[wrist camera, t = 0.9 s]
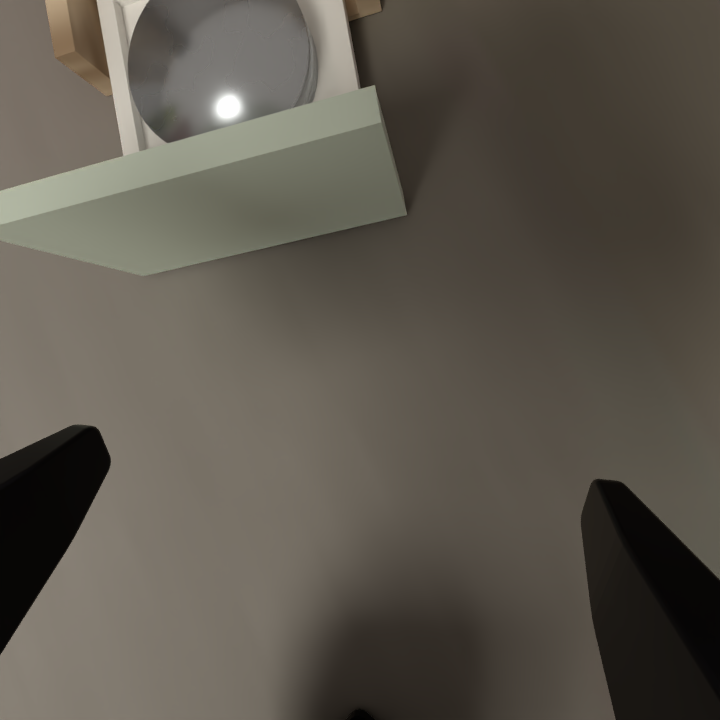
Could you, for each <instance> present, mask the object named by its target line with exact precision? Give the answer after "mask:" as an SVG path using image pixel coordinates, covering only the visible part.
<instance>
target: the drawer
mask: <svg viewBox="0 0 720 720" xmlns="http://www.w3.org/2000/svg"><path fill="white" fill-rule="evenodd" d="M148 1H149V0H97V6H98V12H99V17H100V23H101V29H102V35H103V40H104V46H105V52H106V58H107V63H108V69H109V75H110V81H111V86H112V92H113V98H114V103H115V109H116V115H117V121H118V126H119V132H120V138H121V144H122V149H123V155H124V156H122V157H118V158H115V159H111V160H108V161H104V162H100V163H97V164H93V165H90V166H86V167H83V168H79V169H76V170H72V171H69V172H65V173H62V174H58V175H55V176H51V177H47V178H44V179H40V180H37V181H33V182H30V183H26V184H23V185H19V186H16V187H12V188H9V189H5V190H2V191H0V241H4V242H8V243H12V244H16V245H20V246H24V247H28V248H32V249H36V250H40V251H44V252H48V253H52V254H56V255H60V256H64V257H68V258H72V259H76V260H80V261H84V262H88V263H93V264H97V265H101V266H105V267H109V268H113V269H117V270H121V271H125V272H129V273H133V274H137V275H141V276H147V275H151V274H155V273H160V272H164V271H168V270H172V269H177V268H181V267H185V266H190V265H194V264H198V263H203V262H207V261H211V260H216V259H220V258H224V257H229V256H233V255H237V254H242V253H246V252H250V251H255V250H259V249H263V248H267V247H272V246H276V245H280V244H285V243H289V242H293V241H298V240H302V239H306V238H311V237H315V236H319V235H324V234H328V233H332V232H337V231H341V230H345V229H349V228H354V227H358V226H362V225H367V224H371V223H375V222H380V221H384V220H388V219H393V218H397V217H401V216H406V215H407V212H406V207H405V201H404V195H403V191H402V187H401V183H400V179H399V176H398V172H397V168H396V164H395V160H394V157H393V153H392V149H391V145H390V141H389V138H388V134H387V130H386V126H385V122H384V119H383V115H382V111H381V107H380V103H379V100H378V96H377V92H376V88H375V85H373V86H369V87H365V88H362V89H361V87H360V82H359V76H358V71H357V65H356V60H355V54H354V49H353V43H352V38H351V32H350V27H349V21H348V15H347V10H346V4H345V0H296V1H297V3H298V5H299V7H300V9H301V12H302V14H303V16H304V18H305V21H306V23H307V25H308V28H309V30H310V32H311V35H312V37H313V40H314V44H315V47H316V52H317V58H318V80H317V87H316V92H315V97H314V100H313V102H312V103H309V104H305V105H302V106H298V107H295V108H291V109H288V110H284V111H281V112H277V113H274V114H270V115H267V116H263V117H259V118H256V119H252V120H249V121H245V122H242V123H238V124H235V125H231V126H228V127H224V128H221V129H217V130H214V131H210V132H206V133H203V134H199V135H196V136H192V137H189V138H185V139H182V140H178V141H175V142H171V143H166V142H165V141H163V140H162V139H161V138H159V137H158V136H157V135H156V134H155V133H154V132H153V131H152V130H151V129H150V128H149V126H148V125H147V124H146V123H145V121H144V120H143V118H142V117H141V115H140V113H139V112H138V110H137V107H136V105H135V103H134V100H133V97H132V93H131V90H130V85H129V79H128V53H129V47H130V42H131V38H132V34H133V31H134V28H135V26H136V23H137V21H138V19H139V16H140V14H141V13H142V11H143V9H144V7H145V6H146V4H147V3H148Z"/></svg>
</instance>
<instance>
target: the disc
mask: <svg viewBox="0 0 720 720" xmlns="http://www.w3.org/2000/svg"><path fill="white" fill-rule="evenodd" d="M128 79H129V85H130V90H131V93H132V97H133V100H134V103H135V105H136V107H137V110H138V112H139V113H140V115H141V117H142V118H143V120H144V121H145V123H146V124H147V125H148V126H149V128H150V129H151V130H152V131H153V132H154V133H155V134H156V135H157V136H158V137H159V138H161V139H162V140H163V141H165V142H166V143H171V142H175V141H178V140H182V139H185V138H189V137H192V136H196V135H199V134H203V133H206V132H210V131H214V130H217V129H221V128H224V127H228V126H231V125H235V124H238V123H242V122H245V121H249V120H252V119H256V118H259V117H263V116H267V115H270V114H274V113H277V112H281V111H284V110H288V109H291V108H295V107H298V106H302V105H305V104H309V103H312V102H313V100H314V97H315V92H316V87H317V80H318V58H317V52H316V47H315V44H314V40H313V37H312V35H311V32H310V30H309V28H308V25H307V23H306V21H305V18H304V16H303V14H302V12H301V9H300V7H299V5H298V3H297V1H296V0H149V1H148V3H147V4H146V6H145V7H144V9H143V11H142V13H141V14H140V16H139V19H138V21H137V23H136V26H135V28H134V31H133V34H132V38H131V42H130V47H129V53H128Z"/></svg>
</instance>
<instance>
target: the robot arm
mask: <svg viewBox="0 0 720 720" xmlns="http://www.w3.org/2000/svg"><path fill="white" fill-rule="evenodd" d="M110 464H111V458H110V455H109V452H108V450H107V448H106V445H105V443H104V440H103V438H102V436H101V433H100V431H99V430H98V429H97V428H96V427H94V426H88V425H72V426H69V427H67V428H65V429H63V430H61V431H59V432H57V433H55V434H52V435H50V436H48V437H46V438H44V439H42V440H40V441H37V442H35V443H33V444H31V445H29V446H27V447H25V448H23V449H20V450H18V451H16V452H14V453H12V454H10V455H8V456H6V457H3V458H1V459H0V655H1V653H2V651H3V650H4V648H5V647H6V645H7V644H8V642H9V640H10V639H11V637H12V636H13V634H14V633H15V631H16V629H17V628H18V626H19V625H20V623H21V621H22V620H23V618H24V617H25V615H26V614H27V612H28V610H29V609H30V607H31V606H32V604H33V603H34V601H35V599H36V598H37V596H38V595H39V593H40V592H41V590H42V588H43V587H44V585H45V584H46V582H47V580H48V579H49V577H50V576H51V574H52V573H53V571H54V569H55V568H56V566H57V565H58V563H59V562H60V560H61V558H62V557H63V555H64V554H65V552H66V550H67V549H68V547H69V545H70V544H71V542H72V540H73V539H74V537H75V535H76V533H77V531H78V529H79V527H80V525H81V524H82V522H83V520H84V518H85V516H86V514H87V512H88V510H89V508H90V506H91V504H92V502H93V500H94V498H95V496H96V494H97V492H98V490H99V488H100V486H101V484H102V482H103V480H104V479H105V477H106V475H107V473H108V471H109V468H110ZM581 530H582V538H583V547H584V555H585V564H586V572H587V580H588V589H589V597H590V605H591V612H592V619H593V624H594V629H595V634H596V638H597V642H598V647H599V651H600V655H601V659H602V664H603V668H604V672H605V676H606V681H607V685H608V689H609V693H610V697H611V702H612V706H613V710H614V714H615V719H616V720H720V580H719V579H718V578H717V577H716V576H715V575H714V574H713V573H712V572H711V571H710V569H709V568H708V567H707V566H706V565H705V564H704V563H703V562H702V561H701V560H700V559H699V558H698V557H697V556H696V555H695V554H694V553H693V552H692V551H691V550H690V549H689V548H688V547H687V546H686V545H685V544H684V543H683V542H682V541H681V540H680V539H679V538H678V537H677V536H676V535H675V534H674V533H673V532H672V531H671V530H670V529H669V528H668V527H667V526H666V525H665V524H664V523H663V522H662V521H661V520H660V519H659V518H658V517H657V516H656V515H655V514H654V513H653V512H652V511H651V510H650V509H649V508H648V507H647V506H646V505H645V504H644V503H643V502H642V501H641V500H640V499H639V498H638V497H637V496H636V495H635V494H634V493H633V492H632V491H631V490H630V489H629V488H628V487H627V486H626V485H625V484H623V483H622V482H620V481H614V480H604V479H595V480H594V481H593V482H592V483H591V485H590V488H589V492H588V495H587V498H586V501H585V504H584V507H583V511H582V515H581ZM346 720H375V719H374V718H373V717H372V716H371V715H370V714H368V713H367V712H366V711H364V710H361V709H359V710H355V711H354V712H352V713H351V714H350V715H349V717H348V718H347V719H346Z"/></svg>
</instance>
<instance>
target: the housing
mask: <svg viewBox="0 0 720 720" xmlns="http://www.w3.org/2000/svg"><path fill="white" fill-rule="evenodd" d="M45 2H46V8H47V13H48V19H49V25H50V31H51V37H52V42H53V48H54V54H55V58H56V59H58V60H59V61H60V62H62V63H63V64H64V65H66V66H67V67H68V68H70V69H71V70H72V71H74V72H75V73H76V74H78V75H79V76H80V77H82V78H83V79H84V80H86V81H87V82H88V83H90V84H91V85H92V86H94V87H95V88H96V89H98V90H99V91H100V92H102V93H103V94H104V95H106V96H109V95H113V92H112V86H111V81H110V75H109V69H108V63H107V58H106V52H105V46H104V40H103V35H102V29H101V23H100V17H99V12H98V6H97V0H45ZM345 4H346V10H347V15H348V21H352V20H355V19H358V18H361V17H364V16H368V15H371V14H374V13H377V12H381V11H382V9H381V4H380V0H345Z"/></svg>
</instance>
